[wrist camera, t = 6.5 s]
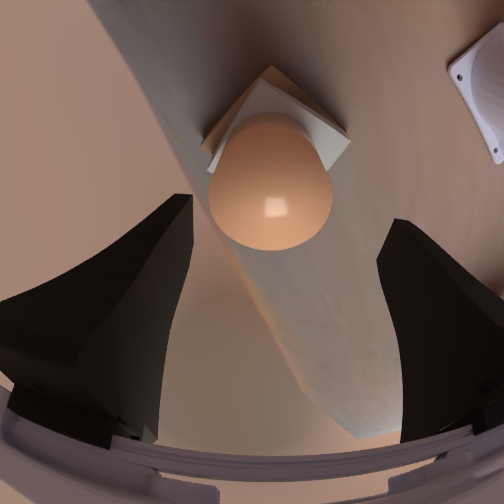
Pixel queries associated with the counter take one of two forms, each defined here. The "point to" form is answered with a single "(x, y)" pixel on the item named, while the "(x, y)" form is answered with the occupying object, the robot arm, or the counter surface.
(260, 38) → the counter surface
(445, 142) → the counter surface
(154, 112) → the counter surface
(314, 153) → the terracotta cylinder
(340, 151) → the slab upper
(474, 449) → the robot arm
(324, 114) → the slab lower
